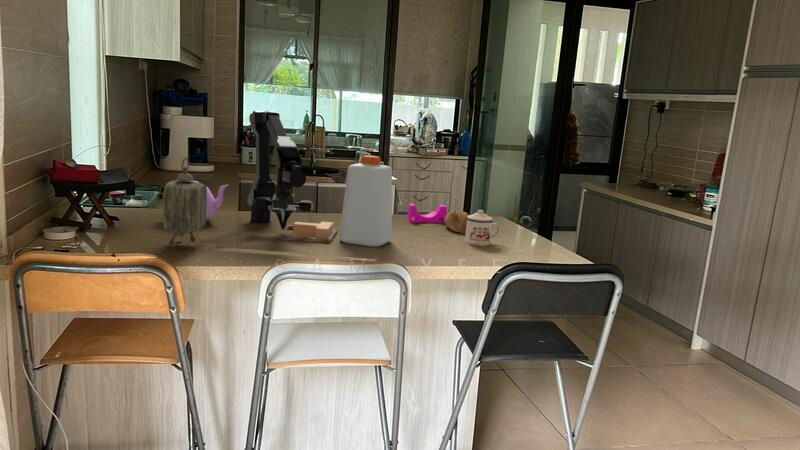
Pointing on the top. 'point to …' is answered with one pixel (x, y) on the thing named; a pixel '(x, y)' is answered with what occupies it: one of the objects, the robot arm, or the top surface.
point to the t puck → (313, 229)
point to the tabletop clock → (184, 205)
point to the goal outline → (307, 239)
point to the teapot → (213, 201)
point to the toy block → (429, 218)
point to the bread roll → (456, 221)
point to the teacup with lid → (479, 229)
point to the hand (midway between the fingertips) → (283, 229)
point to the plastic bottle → (367, 204)
